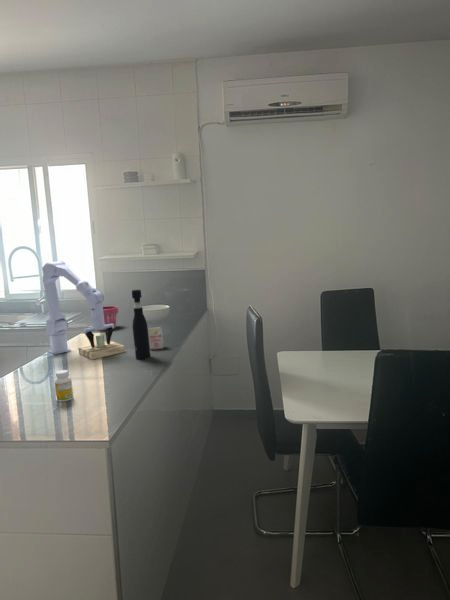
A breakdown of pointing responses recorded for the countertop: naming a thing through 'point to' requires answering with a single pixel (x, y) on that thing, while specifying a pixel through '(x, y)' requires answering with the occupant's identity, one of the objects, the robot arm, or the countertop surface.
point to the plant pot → (110, 314)
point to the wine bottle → (140, 329)
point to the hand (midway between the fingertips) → (100, 345)
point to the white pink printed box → (155, 338)
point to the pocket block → (101, 350)
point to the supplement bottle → (63, 386)
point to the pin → (100, 341)
